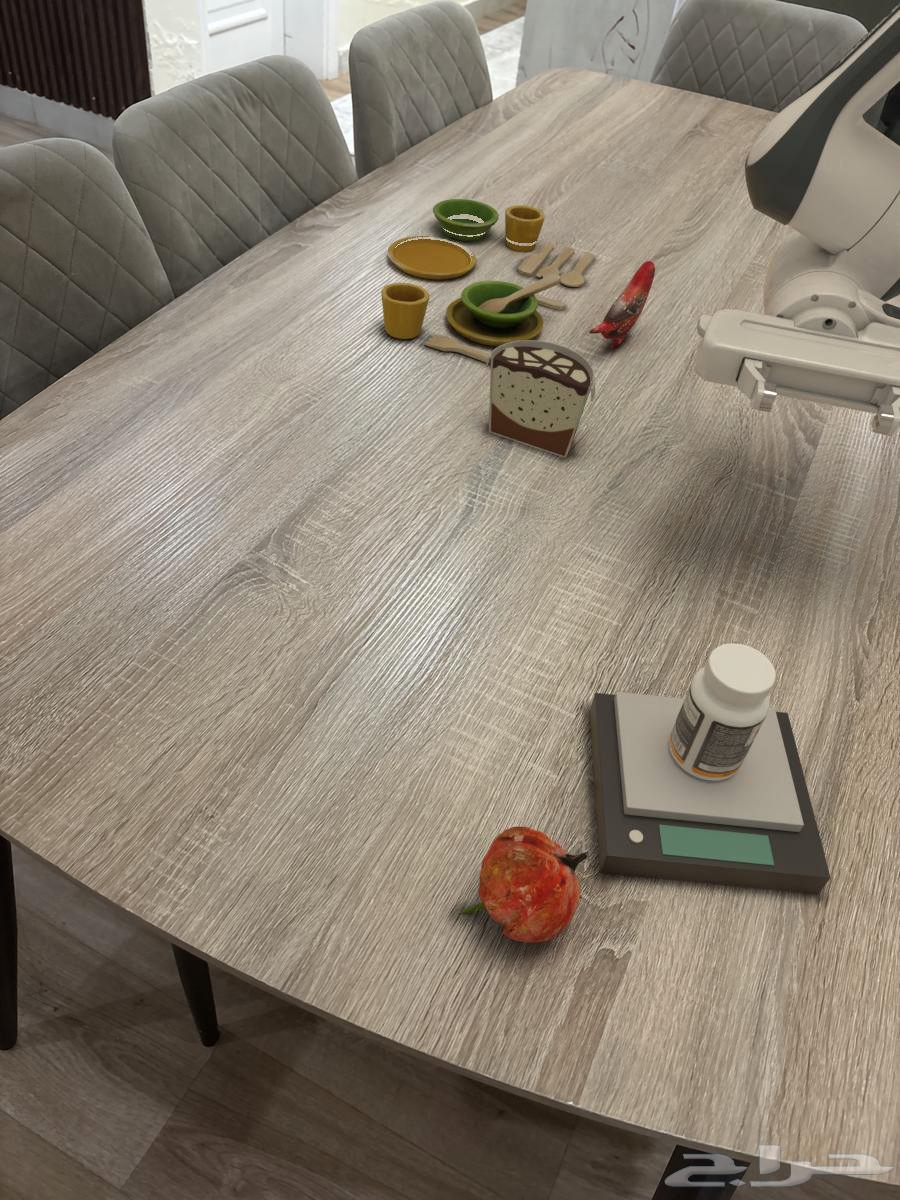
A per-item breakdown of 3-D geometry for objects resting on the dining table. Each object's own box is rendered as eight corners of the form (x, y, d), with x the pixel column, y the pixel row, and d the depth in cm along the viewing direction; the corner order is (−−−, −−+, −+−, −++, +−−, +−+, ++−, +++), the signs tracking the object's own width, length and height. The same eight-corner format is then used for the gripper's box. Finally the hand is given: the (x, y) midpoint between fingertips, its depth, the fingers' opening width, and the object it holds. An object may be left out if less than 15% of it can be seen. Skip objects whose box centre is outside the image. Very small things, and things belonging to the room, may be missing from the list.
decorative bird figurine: (648, 329, 128) (667, 259, 121) (589, 381, 117) (606, 306, 110) (629, 322, 129) (647, 252, 122) (569, 373, 118) (584, 298, 111)
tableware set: (511, 379, 115) (519, 332, 111) (311, 319, 121) (311, 272, 117) (604, 257, 143) (613, 215, 139) (438, 213, 150) (442, 172, 145)
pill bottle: (751, 747, 73) (796, 662, 66) (723, 797, 69) (768, 712, 62) (684, 711, 75) (720, 625, 68) (654, 758, 71) (689, 671, 64)
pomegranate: (487, 985, 63) (621, 942, 60) (428, 931, 60) (568, 882, 56) (486, 890, 69) (608, 847, 66) (432, 836, 65) (559, 787, 62)
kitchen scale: (777, 731, 79) (792, 704, 76) (818, 895, 68) (836, 870, 66) (588, 711, 78) (597, 684, 76) (599, 873, 68) (609, 847, 65)
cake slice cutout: (595, 436, 108) (614, 358, 101) (578, 463, 104) (596, 384, 97) (497, 404, 111) (508, 326, 104) (476, 429, 107) (487, 350, 100)
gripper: (708, 277, 82) (702, 352, 72) (950, 321, 79) (978, 405, 70) (689, 343, 86) (681, 422, 76) (918, 387, 84) (940, 474, 74)
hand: (825, 415), depth 73 cm, fingers open, 8 cm apart
